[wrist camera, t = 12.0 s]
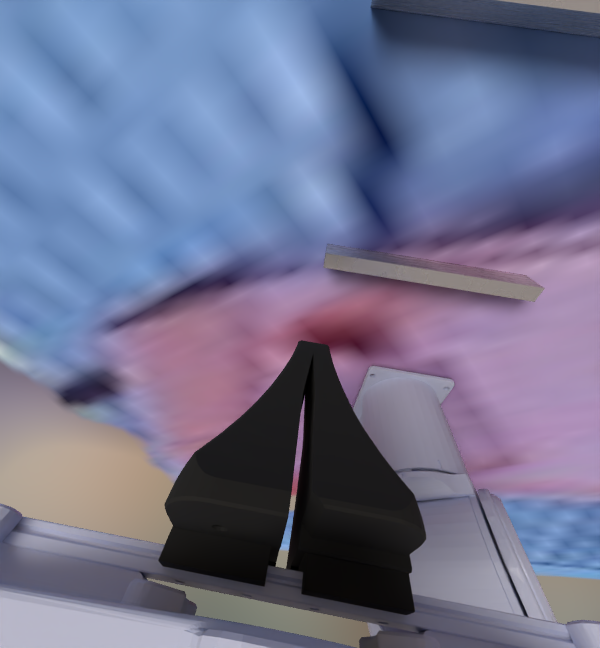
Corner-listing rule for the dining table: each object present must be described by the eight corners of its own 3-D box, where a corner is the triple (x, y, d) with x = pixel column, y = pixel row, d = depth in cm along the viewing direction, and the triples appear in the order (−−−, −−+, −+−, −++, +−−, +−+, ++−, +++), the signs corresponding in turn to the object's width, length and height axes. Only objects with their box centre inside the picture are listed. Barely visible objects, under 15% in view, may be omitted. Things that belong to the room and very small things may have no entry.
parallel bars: (516, 288, 18) (534, 301, 17) (324, 257, 19) (323, 267, 17) (707, 14, 11) (773, -10, 9) (376, -28, 11) (383, -58, 9)
